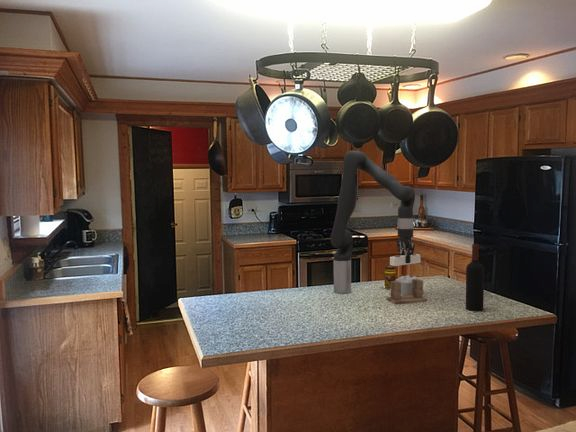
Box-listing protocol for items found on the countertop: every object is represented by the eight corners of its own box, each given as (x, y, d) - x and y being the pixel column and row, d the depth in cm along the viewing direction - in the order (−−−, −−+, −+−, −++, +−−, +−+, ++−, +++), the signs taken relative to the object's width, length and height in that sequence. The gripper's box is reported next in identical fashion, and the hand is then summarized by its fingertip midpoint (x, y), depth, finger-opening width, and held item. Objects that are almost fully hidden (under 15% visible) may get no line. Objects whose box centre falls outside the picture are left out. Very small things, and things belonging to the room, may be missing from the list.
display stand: (386, 299, 240) (386, 280, 240) (416, 296, 245) (416, 277, 244) (396, 304, 231) (396, 284, 230) (427, 301, 235) (427, 281, 235)
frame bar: (415, 261, 240) (415, 252, 240) (420, 262, 237) (420, 253, 237) (389, 265, 233) (389, 256, 233) (394, 266, 230) (394, 257, 230)
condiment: (390, 290, 258) (390, 268, 257) (378, 287, 265) (378, 266, 264) (399, 288, 263) (399, 266, 262) (387, 285, 270) (387, 264, 268)
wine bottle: (462, 309, 220) (463, 244, 218) (469, 305, 226) (470, 242, 223) (479, 312, 215) (480, 246, 213) (485, 308, 221) (487, 243, 218)
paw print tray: (404, 296, 245) (404, 280, 244) (392, 290, 257) (392, 274, 257) (423, 295, 248) (423, 278, 247) (410, 289, 260) (410, 273, 259)
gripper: (420, 228, 228) (420, 264, 229) (404, 225, 241) (404, 259, 243) (406, 229, 226) (406, 265, 227) (391, 226, 239) (391, 260, 241)
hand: (405, 262), depth 235 cm, fingers closed on frame bar, 4 cm apart
